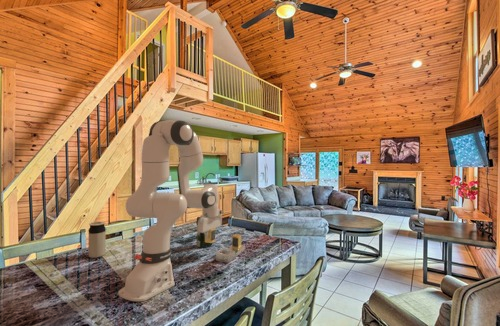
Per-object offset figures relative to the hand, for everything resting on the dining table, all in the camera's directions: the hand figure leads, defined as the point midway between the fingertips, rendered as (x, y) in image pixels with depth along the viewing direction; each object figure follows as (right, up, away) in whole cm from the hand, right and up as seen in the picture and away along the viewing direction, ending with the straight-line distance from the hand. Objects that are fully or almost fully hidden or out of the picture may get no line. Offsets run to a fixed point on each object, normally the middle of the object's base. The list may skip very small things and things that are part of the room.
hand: (209, 237), depth 135 cm
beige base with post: (+12, -11, +3) cm, 16 cm away
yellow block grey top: (0, -2, 0) cm, 2 cm away
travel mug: (-63, -10, 0) cm, 64 cm away
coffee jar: (-6, -11, +17) cm, 21 cm away
